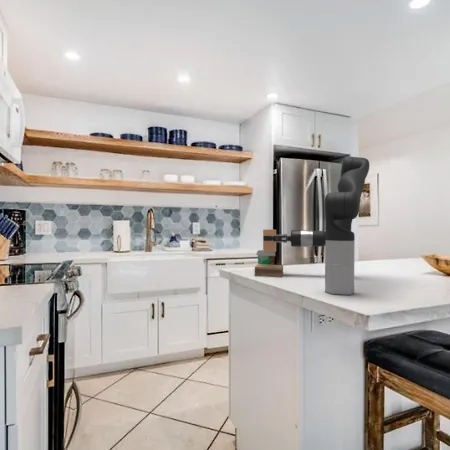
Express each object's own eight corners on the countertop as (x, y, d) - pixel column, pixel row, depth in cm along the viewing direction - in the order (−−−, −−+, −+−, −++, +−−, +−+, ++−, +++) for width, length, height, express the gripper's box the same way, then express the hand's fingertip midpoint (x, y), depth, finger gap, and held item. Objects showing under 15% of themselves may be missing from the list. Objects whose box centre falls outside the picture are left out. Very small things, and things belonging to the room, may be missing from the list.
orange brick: (275, 251, 149) (275, 229, 149) (263, 251, 150) (263, 229, 150) (276, 251, 154) (276, 229, 154) (264, 250, 155) (264, 229, 155)
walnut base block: (282, 277, 145) (282, 267, 145) (254, 276, 147) (254, 267, 147) (283, 273, 156) (283, 265, 156) (257, 272, 159) (257, 264, 159)
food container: (251, 270, 170) (251, 250, 170) (262, 269, 172) (262, 250, 172) (264, 272, 158) (264, 251, 159) (275, 272, 161) (275, 251, 161)
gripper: (301, 230, 156) (265, 229, 160) (302, 230, 142) (262, 230, 146) (301, 245, 156) (265, 245, 160) (302, 247, 142) (262, 247, 146)
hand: (264, 238), depth 153 cm, fingers closed on orange brick, 5 cm apart
